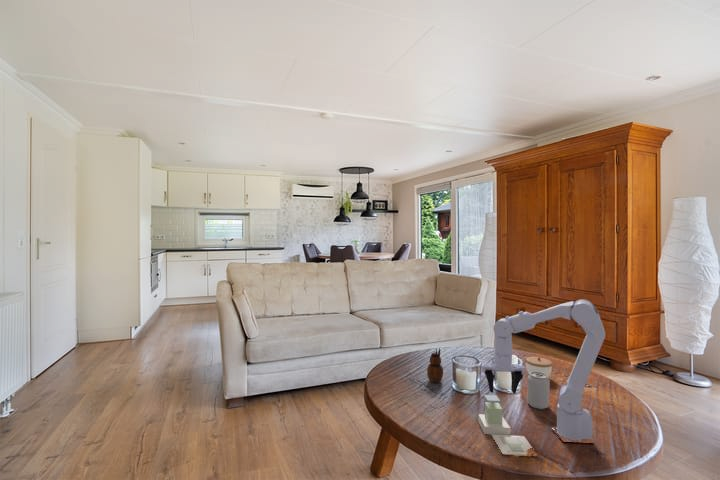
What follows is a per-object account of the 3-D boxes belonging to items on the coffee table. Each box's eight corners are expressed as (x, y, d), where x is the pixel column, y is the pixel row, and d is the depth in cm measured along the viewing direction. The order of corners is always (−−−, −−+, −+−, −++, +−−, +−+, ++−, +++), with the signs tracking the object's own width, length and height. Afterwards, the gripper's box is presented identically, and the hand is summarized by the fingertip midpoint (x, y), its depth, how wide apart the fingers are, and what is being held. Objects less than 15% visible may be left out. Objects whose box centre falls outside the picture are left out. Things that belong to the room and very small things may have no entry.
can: (551, 405, 137) (552, 374, 136) (545, 412, 131) (546, 379, 131) (530, 399, 142) (531, 368, 142) (524, 405, 136) (524, 374, 136)
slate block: (496, 408, 134) (496, 395, 134) (500, 414, 129) (500, 400, 129) (483, 408, 134) (484, 394, 134) (487, 414, 130) (487, 400, 130)
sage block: (498, 417, 122) (498, 402, 122) (502, 424, 118) (502, 409, 118) (484, 416, 123) (484, 402, 122) (488, 423, 118) (488, 408, 118)
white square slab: (501, 423, 124) (502, 415, 124) (510, 437, 116) (510, 427, 116) (478, 422, 124) (478, 414, 124) (484, 435, 116) (484, 426, 116)
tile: (524, 437, 114) (524, 435, 114) (537, 457, 104) (537, 454, 104) (492, 436, 115) (492, 433, 115) (502, 455, 105) (502, 452, 105)
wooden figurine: (444, 381, 158) (445, 347, 158) (440, 385, 153) (440, 350, 153) (430, 377, 162) (430, 344, 162) (425, 381, 157) (425, 347, 157)
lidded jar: (524, 378, 162) (524, 358, 162) (527, 371, 171) (527, 351, 171) (550, 384, 156) (551, 362, 156) (552, 376, 165) (553, 355, 165)
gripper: (519, 350, 130) (519, 387, 130) (479, 349, 131) (478, 386, 131) (527, 357, 123) (527, 396, 123) (484, 355, 124) (483, 394, 124)
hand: (502, 391), depth 126 cm, fingers open, 7 cm apart
